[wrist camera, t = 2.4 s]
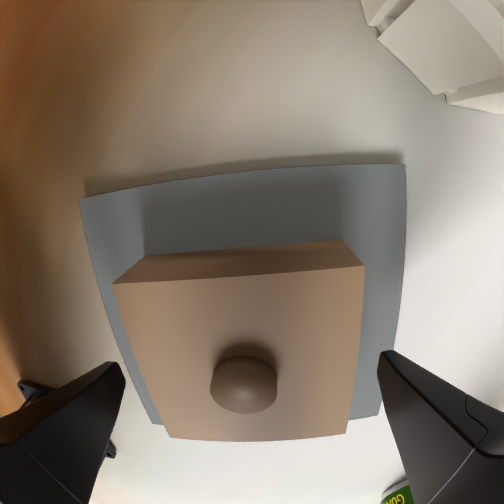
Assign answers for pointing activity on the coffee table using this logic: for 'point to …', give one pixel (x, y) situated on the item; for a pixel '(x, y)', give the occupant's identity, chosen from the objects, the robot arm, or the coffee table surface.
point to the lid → (247, 338)
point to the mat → (263, 240)
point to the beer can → (398, 494)
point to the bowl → (447, 46)
